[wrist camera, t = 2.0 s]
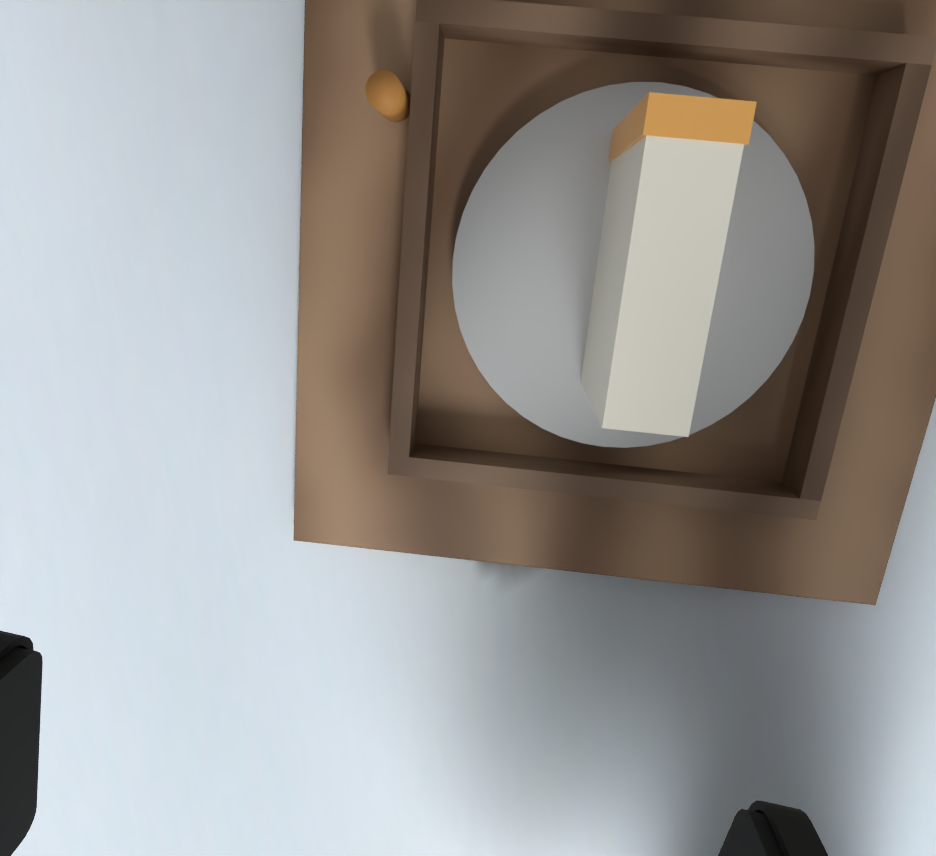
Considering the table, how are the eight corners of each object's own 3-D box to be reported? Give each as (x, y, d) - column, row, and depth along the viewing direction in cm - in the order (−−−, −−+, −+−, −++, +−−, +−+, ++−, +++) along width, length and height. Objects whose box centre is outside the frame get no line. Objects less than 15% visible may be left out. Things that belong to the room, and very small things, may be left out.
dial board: (1047, -67, 23) (1144, -121, 20) (861, 591, 30) (908, 638, 27) (317, -124, 24) (284, -186, 20) (301, 528, 31) (274, 567, 27)
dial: (843, 103, 24) (984, 48, 17) (763, 457, 27) (851, 536, 20) (469, 70, 24) (452, 4, 17) (440, 424, 28) (416, 489, 21)
